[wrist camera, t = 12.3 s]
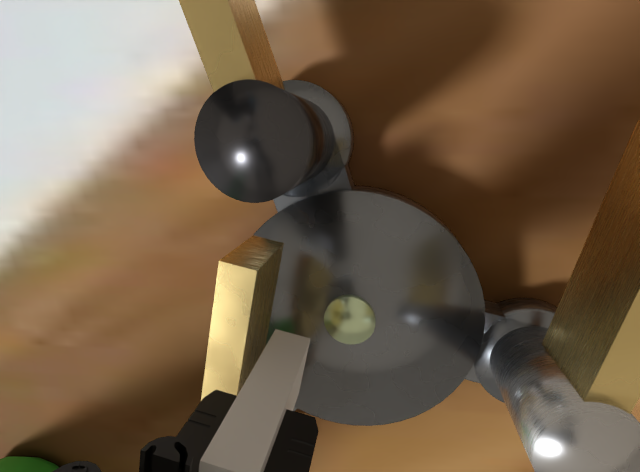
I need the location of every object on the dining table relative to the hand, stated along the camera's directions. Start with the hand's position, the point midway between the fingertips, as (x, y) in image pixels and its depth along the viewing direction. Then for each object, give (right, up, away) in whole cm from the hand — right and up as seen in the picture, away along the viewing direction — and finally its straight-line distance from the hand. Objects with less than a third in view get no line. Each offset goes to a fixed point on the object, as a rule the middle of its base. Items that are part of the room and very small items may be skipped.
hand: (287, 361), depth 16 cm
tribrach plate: (+5, +1, +4) cm, 7 cm away
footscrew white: (-2, 0, +4) cm, 4 cm away
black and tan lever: (-1, +14, 0) cm, 14 cm away
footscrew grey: (+12, +4, 0) cm, 12 cm away
